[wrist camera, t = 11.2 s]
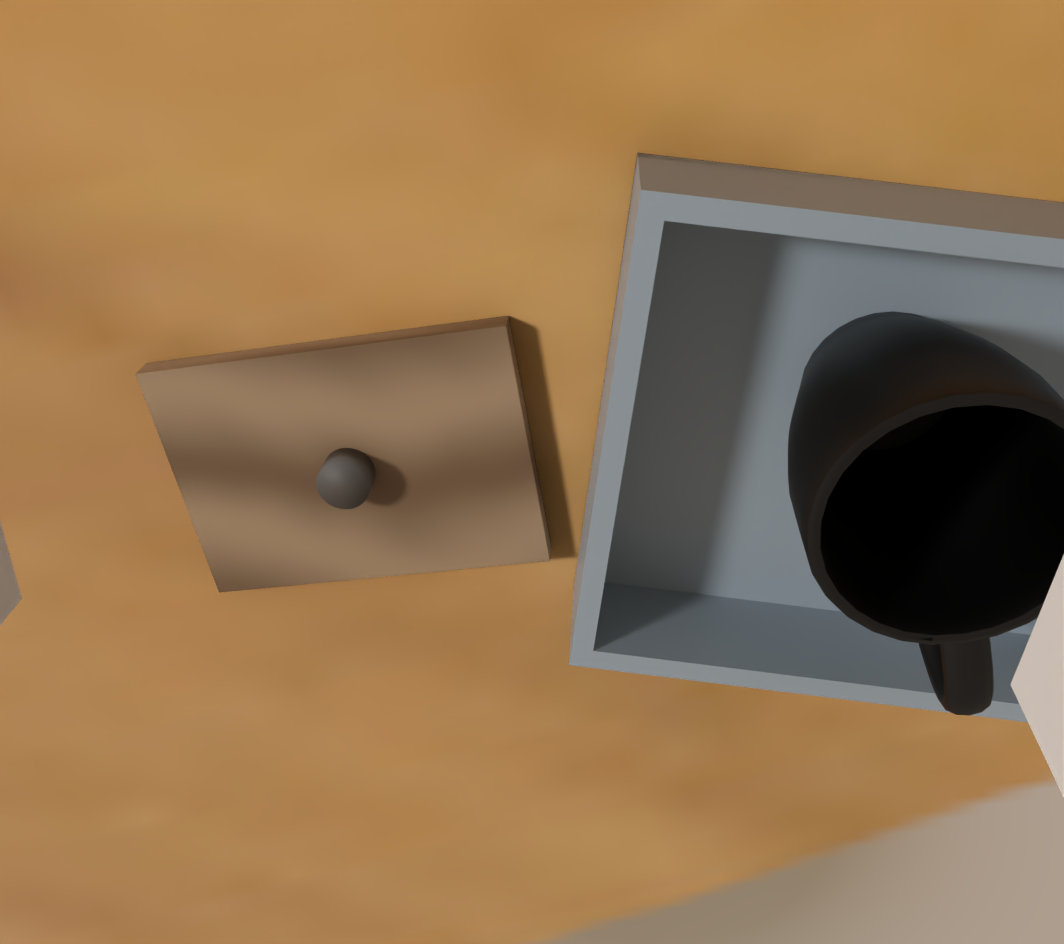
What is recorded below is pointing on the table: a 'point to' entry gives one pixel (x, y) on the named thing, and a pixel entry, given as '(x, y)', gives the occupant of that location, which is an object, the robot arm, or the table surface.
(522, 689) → the table surface
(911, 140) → the table surface
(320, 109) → the table surface
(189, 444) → the lid
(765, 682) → the bin
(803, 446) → the mug
